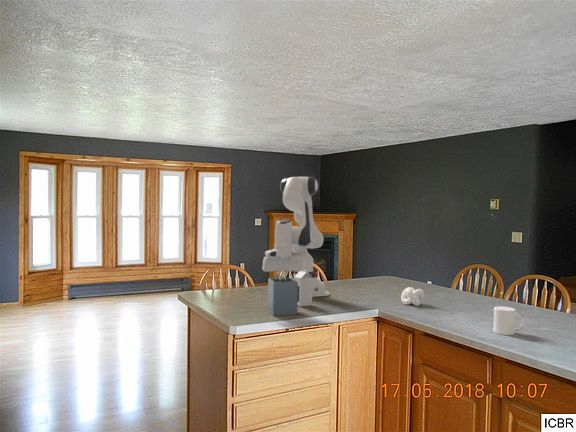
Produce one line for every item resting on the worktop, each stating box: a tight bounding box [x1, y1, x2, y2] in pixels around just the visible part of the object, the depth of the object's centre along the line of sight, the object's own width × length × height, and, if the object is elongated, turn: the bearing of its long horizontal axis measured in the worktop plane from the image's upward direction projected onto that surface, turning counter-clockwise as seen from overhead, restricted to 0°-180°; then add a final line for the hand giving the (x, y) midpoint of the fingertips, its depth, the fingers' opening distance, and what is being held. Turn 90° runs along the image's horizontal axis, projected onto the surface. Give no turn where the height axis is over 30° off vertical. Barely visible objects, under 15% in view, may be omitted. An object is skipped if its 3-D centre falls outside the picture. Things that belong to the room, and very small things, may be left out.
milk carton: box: [293, 270, 313, 307], centre depth 238 cm, size 7×7×19 cm
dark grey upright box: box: [267, 277, 299, 316], centre depth 221 cm, size 14×12×16 cm
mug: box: [492, 305, 526, 336], centre depth 189 cm, size 8×10×12 cm
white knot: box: [400, 287, 425, 307], centre depth 243 cm, size 11×12×9 cm
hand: (282, 280), depth 220 cm, fingers closed, pressing on plunger
